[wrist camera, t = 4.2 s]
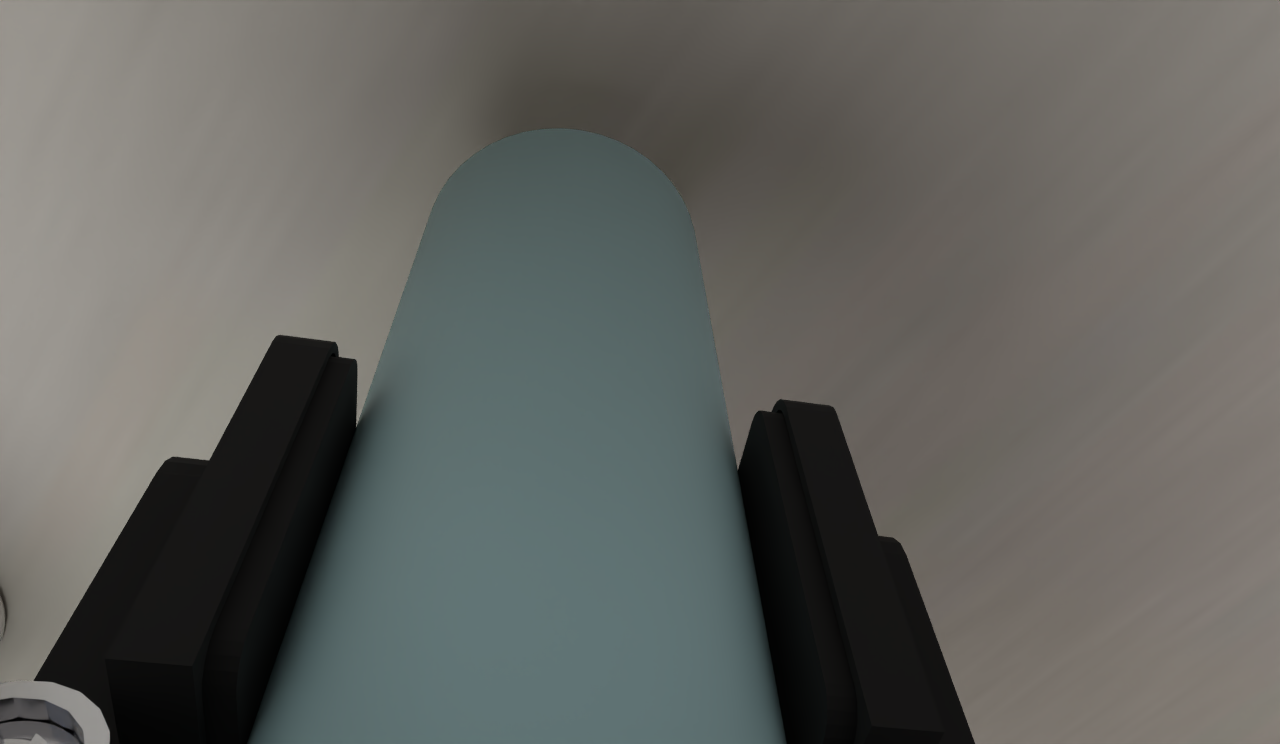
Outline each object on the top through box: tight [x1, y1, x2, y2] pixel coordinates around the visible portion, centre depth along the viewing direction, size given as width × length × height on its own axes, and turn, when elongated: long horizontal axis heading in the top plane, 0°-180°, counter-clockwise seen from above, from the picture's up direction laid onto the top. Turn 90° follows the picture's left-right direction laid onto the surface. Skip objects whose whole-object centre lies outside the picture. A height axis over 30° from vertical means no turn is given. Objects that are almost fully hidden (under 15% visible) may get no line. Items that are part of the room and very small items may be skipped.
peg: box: [247, 128, 787, 744], centre depth 9 cm, size 4×4×14 cm
